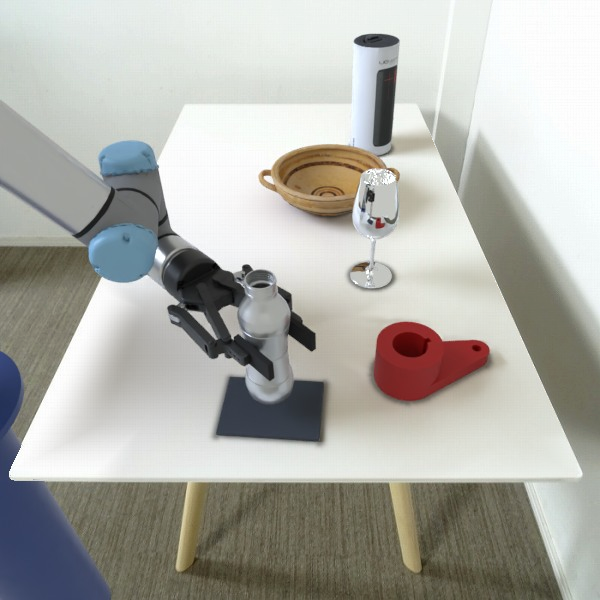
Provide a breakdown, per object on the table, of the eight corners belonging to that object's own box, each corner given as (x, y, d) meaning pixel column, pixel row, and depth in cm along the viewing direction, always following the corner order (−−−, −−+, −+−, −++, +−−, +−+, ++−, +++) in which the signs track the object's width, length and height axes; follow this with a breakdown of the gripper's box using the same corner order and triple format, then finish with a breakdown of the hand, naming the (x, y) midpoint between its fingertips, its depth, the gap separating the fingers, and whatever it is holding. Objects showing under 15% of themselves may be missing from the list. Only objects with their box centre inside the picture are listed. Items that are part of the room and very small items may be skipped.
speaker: (360, 160, 134) (366, 47, 116) (342, 143, 141) (345, 34, 124) (398, 152, 136) (409, 40, 119) (378, 135, 144) (386, 28, 127)
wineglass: (340, 275, 100) (343, 176, 87) (369, 257, 104) (376, 160, 91) (372, 295, 96) (380, 194, 82) (401, 276, 99) (413, 176, 86)
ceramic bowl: (391, 174, 128) (394, 142, 123) (403, 233, 110) (407, 198, 104) (264, 176, 129) (262, 144, 124) (256, 234, 111) (252, 200, 105)
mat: (216, 434, 75) (215, 432, 74) (230, 378, 82) (229, 376, 82) (319, 441, 73) (319, 439, 73) (323, 383, 81) (323, 381, 81)
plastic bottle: (276, 366, 79) (267, 254, 66) (304, 396, 75) (300, 282, 62) (238, 388, 76) (220, 275, 63) (265, 420, 72) (252, 306, 59)
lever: (388, 407, 77) (392, 376, 73) (364, 360, 84) (366, 329, 80) (502, 378, 81) (512, 346, 76) (469, 335, 88) (477, 304, 83)
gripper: (239, 264, 86) (347, 339, 72) (131, 322, 76) (232, 422, 63) (234, 223, 81) (349, 296, 68) (117, 280, 71) (225, 379, 58)
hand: (292, 356), depth 65 cm, fingers closed on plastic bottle, 6 cm apart
